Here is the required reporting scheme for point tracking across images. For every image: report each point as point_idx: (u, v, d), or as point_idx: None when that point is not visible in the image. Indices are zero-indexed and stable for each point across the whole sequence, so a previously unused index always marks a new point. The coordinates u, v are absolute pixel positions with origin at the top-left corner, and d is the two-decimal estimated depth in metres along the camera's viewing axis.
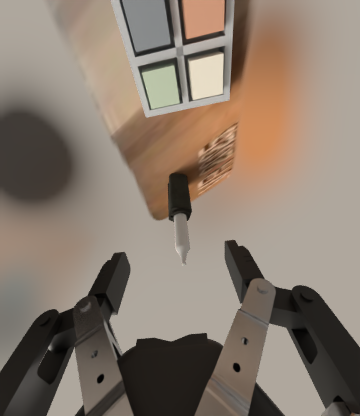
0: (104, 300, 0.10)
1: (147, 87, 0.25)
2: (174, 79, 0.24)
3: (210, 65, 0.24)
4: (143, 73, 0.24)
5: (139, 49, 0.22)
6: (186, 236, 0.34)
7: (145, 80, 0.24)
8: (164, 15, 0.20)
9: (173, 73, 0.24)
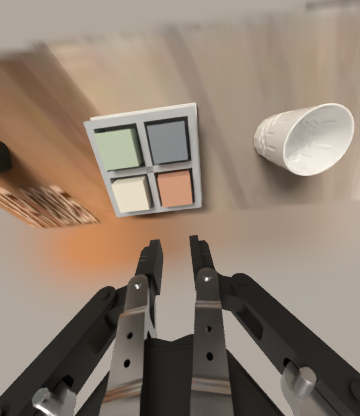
0: (152, 280, 0.10)
1: (116, 133, 0.21)
2: (127, 165, 0.23)
3: (140, 199, 0.26)
4: (129, 130, 0.21)
5: (149, 130, 0.21)
6: None
7: (123, 131, 0.21)
8: (171, 159, 0.23)
9: (132, 164, 0.23)
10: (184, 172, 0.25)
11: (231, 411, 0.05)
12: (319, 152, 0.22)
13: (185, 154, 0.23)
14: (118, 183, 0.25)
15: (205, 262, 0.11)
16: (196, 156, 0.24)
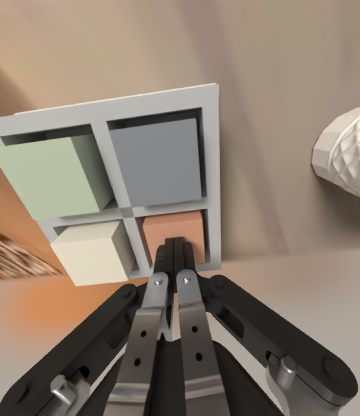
0: (170, 277, 0.10)
1: (40, 146, 0.09)
2: (76, 211, 0.11)
3: (110, 266, 0.14)
4: (69, 141, 0.09)
5: (114, 140, 0.09)
6: None
7: (55, 143, 0.09)
8: (167, 200, 0.11)
9: (86, 209, 0.11)
10: (191, 210, 0.14)
11: (226, 405, 0.05)
12: None
13: (196, 189, 0.11)
14: (65, 240, 0.13)
15: (187, 263, 0.11)
16: (217, 188, 0.12)
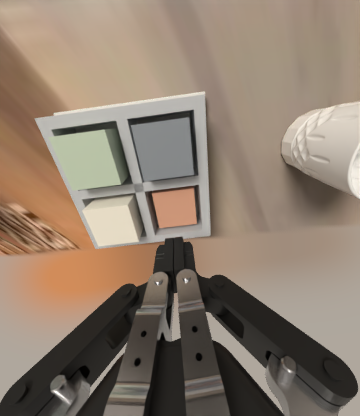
0: (170, 277, 0.10)
1: (84, 135, 0.14)
2: (104, 183, 0.16)
3: (126, 229, 0.18)
4: (104, 132, 0.14)
5: (134, 132, 0.14)
6: None
7: (94, 134, 0.14)
8: (169, 175, 0.15)
9: (111, 182, 0.16)
10: None
11: (226, 405, 0.05)
12: None
13: (190, 167, 0.15)
14: (93, 207, 0.17)
15: (187, 264, 0.11)
16: (205, 169, 0.17)
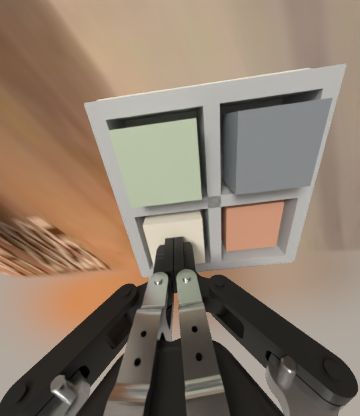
0: (170, 277, 0.10)
1: (163, 128, 0.09)
2: (177, 198, 0.11)
3: (193, 248, 0.14)
4: (194, 122, 0.09)
5: (240, 122, 0.09)
6: None
7: (179, 125, 0.09)
8: (274, 186, 0.11)
9: (188, 197, 0.11)
10: None
11: (226, 405, 0.05)
12: None
13: (308, 176, 0.10)
14: (155, 221, 0.13)
15: (187, 263, 0.11)
16: (313, 176, 0.12)
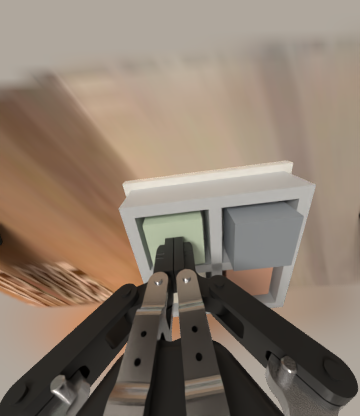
0: (170, 277, 0.10)
1: (179, 224, 0.13)
2: None
3: None
4: (200, 221, 0.13)
5: (237, 230, 0.12)
6: None
7: (190, 222, 0.13)
8: (263, 266, 0.14)
9: (195, 261, 0.15)
10: None
11: (226, 405, 0.05)
12: None
13: (289, 259, 0.13)
14: None
15: (187, 264, 0.11)
16: (295, 250, 0.15)
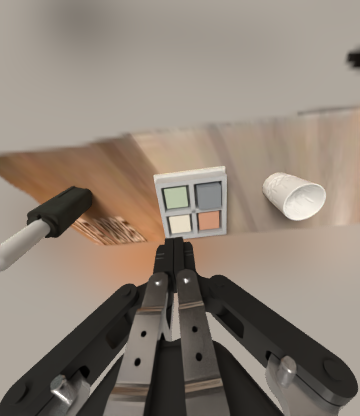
0: (170, 277, 0.10)
1: (177, 188, 0.35)
2: (181, 206, 0.37)
3: (186, 225, 0.40)
4: (185, 187, 0.35)
5: (198, 191, 0.33)
6: (20, 256, 0.24)
7: (181, 188, 0.35)
8: (210, 207, 0.35)
9: (184, 205, 0.37)
10: None
11: (226, 405, 0.05)
12: (306, 203, 0.35)
13: (219, 204, 0.35)
14: None
15: (187, 263, 0.11)
16: (225, 203, 0.36)
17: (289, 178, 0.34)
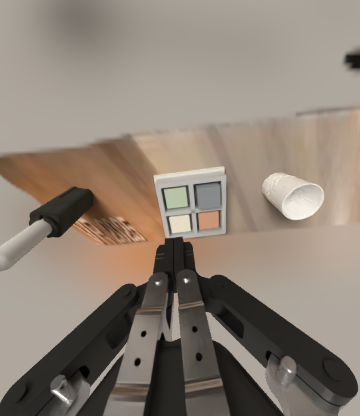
0: (170, 277, 0.10)
1: (177, 189, 0.36)
2: (180, 206, 0.38)
3: (186, 225, 0.40)
4: (185, 187, 0.36)
5: (197, 191, 0.34)
6: (23, 255, 0.24)
7: (181, 188, 0.36)
8: (209, 207, 0.35)
9: (183, 205, 0.38)
10: None
11: (226, 405, 0.05)
12: (305, 203, 0.35)
13: (219, 204, 0.35)
14: None
15: (187, 264, 0.11)
16: (224, 203, 0.37)
17: (288, 178, 0.34)
